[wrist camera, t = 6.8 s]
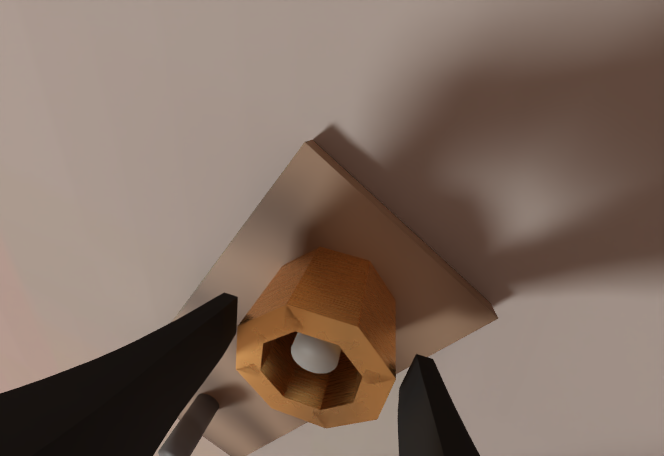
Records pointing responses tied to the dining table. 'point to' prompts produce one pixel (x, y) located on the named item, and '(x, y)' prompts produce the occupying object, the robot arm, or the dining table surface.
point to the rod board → (340, 229)
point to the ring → (326, 324)
